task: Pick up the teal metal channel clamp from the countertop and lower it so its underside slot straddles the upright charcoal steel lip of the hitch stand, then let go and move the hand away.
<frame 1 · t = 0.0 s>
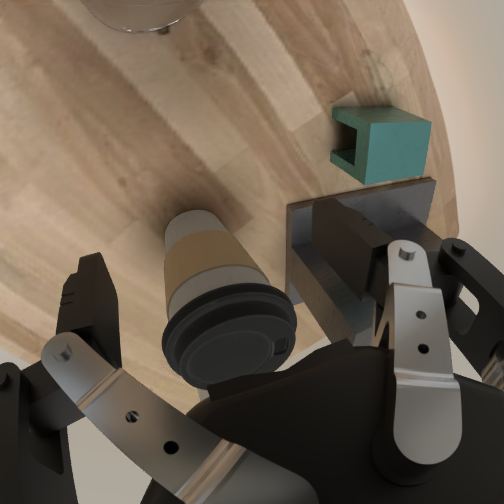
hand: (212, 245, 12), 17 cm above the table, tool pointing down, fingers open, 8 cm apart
hitch stand: (363, 236, 40), on the table
channel clamp: (362, 132, 31), on the table
coffee cup: (192, 234, 31), on the table
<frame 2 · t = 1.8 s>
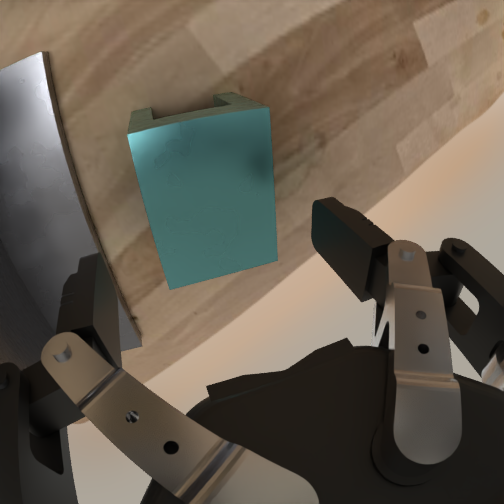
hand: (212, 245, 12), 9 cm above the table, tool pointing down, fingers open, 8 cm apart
hitch stand: (5, 249, 17), on the table
channel clamp: (192, 163, 19), on the table
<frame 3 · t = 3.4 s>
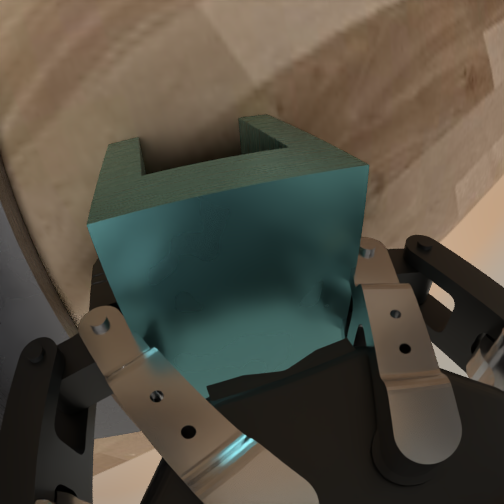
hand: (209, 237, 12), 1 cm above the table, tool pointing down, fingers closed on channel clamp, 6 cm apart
channel clamp: (203, 223, 13), on the table, touching gripper
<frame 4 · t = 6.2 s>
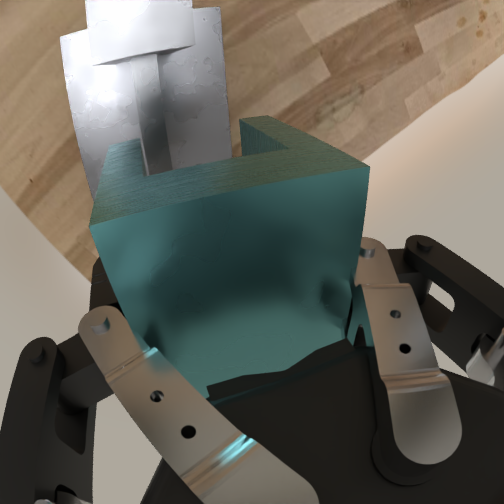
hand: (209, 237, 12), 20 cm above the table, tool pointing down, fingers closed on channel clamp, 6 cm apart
hitch stand: (153, 130, 27), on the table
channel clamp: (204, 224, 13), point 19 cm above the table, touching gripper
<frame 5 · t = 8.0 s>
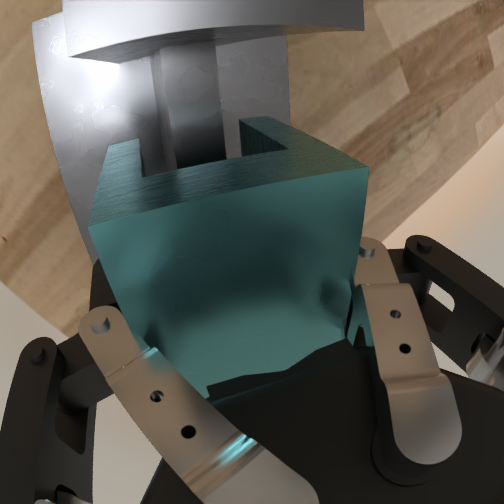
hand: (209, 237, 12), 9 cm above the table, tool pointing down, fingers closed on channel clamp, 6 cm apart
hitch stand: (178, 165, 19), on the table
channel clamp: (203, 224, 13), point 8 cm above the table, touching gripper
when the fingers open (8 cm above the table, at t = 9.2 s): channel clamp drops 1 cm, resting on hitch stand.
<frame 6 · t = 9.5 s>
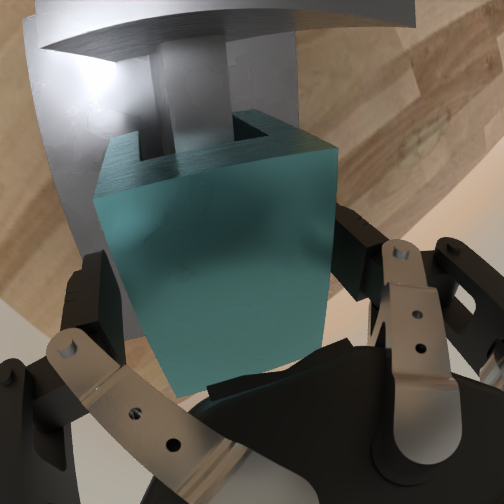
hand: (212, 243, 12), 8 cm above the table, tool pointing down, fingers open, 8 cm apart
hitch stand: (179, 171, 18), on the table
channel clamp: (198, 210, 14), point 5 cm above the table, touching hitch stand
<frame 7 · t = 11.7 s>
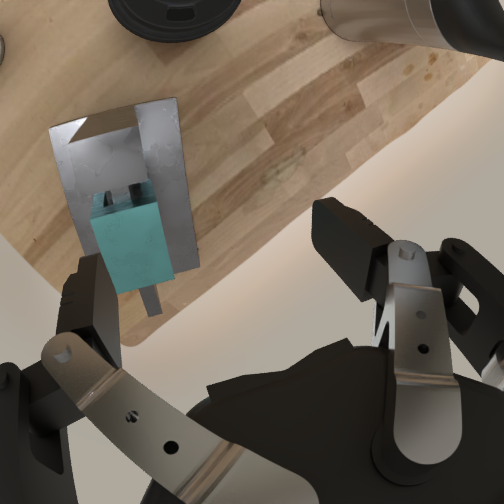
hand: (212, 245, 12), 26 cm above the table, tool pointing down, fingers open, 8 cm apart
hitch stand: (128, 200, 35), on the table
channel clamp: (131, 221, 31), point 5 cm above the table, touching hitch stand
coffee cup: (157, 13, 25), on the table
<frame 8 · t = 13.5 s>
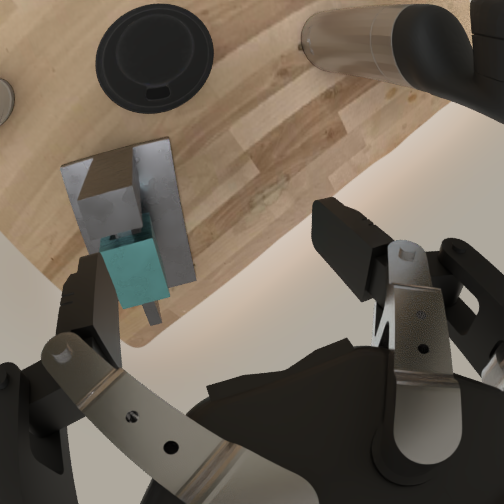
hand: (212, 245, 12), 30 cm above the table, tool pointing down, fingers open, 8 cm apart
hitch stand: (132, 226, 42), on the table
channel clamp: (134, 246, 38), point 5 cm above the table, touching hitch stand
coffee cup: (148, 60, 31), on the table
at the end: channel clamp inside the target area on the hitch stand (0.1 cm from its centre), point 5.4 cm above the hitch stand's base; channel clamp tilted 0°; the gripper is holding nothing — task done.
